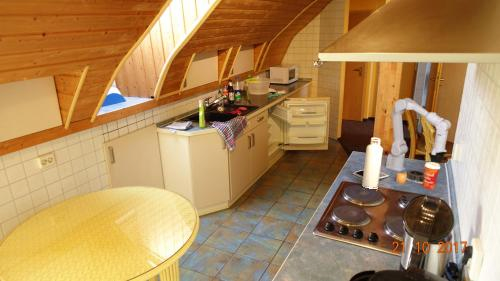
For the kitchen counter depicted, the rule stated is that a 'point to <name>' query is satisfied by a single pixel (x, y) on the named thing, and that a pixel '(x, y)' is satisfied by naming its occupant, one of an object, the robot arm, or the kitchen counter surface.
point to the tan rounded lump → (401, 178)
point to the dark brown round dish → (415, 175)
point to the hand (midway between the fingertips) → (435, 164)
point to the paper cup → (430, 175)
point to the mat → (415, 181)
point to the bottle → (372, 164)
